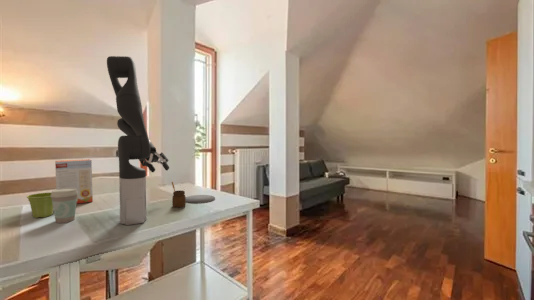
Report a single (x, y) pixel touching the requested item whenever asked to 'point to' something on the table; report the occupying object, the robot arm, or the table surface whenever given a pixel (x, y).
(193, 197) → the charcoal mat
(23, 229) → the table surface
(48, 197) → the plant pot
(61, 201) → the coffee cup
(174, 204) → the utensil holder
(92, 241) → the table surface
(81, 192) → the cracker box
